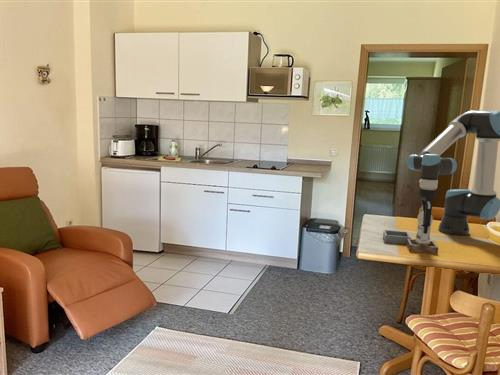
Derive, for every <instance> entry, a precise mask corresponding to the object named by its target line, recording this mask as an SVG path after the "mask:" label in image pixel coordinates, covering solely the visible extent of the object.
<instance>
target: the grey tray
mask: <svg viewBox="0 0 500 375" xmlns="http://www.w3.org/2000/svg"><path fill="white" fill-rule="evenodd" d="M382 237H383V242H384V243H387V244H389V243H391V244H401V245H406V242H407V239H412V237H411V235H410V234H409V232H408V231H400V230H390V229H389V230H388V229H383V234H382Z"/></svg>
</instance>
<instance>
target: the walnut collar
mask: <svg viewBox="0 0 500 375" xmlns="http://www.w3.org/2000/svg"><path fill="white" fill-rule="evenodd" d="M415 239H416V238H411V239H407V242H406V244H405V245H406V247H407V249H408V251H409V252H414V253H424V254H434V255H435V254H436V255H438V253H439V246H438V245H437V244H436V242H435V241H434V240H430V246H423V245H415Z"/></svg>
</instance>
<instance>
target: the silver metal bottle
mask: <svg viewBox="0 0 500 375" xmlns="http://www.w3.org/2000/svg"><path fill="white" fill-rule="evenodd" d="M420 209H422V211H421V212H420V211H419V213H418V215H417V231H416V236H415V238H414V239H415V245H423V246H430V241H431V227H432V224H433V219H434V215H433V214H432V213H431V222H430V226H429V231H428V240H421V234H422V226H421V225H423V216H424V211H423V205H422V208H421V207H420Z"/></svg>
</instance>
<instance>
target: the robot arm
mask: <svg viewBox="0 0 500 375" xmlns="http://www.w3.org/2000/svg"><path fill="white" fill-rule="evenodd" d="M468 134H469V135H470V134H474V135H475V139H476V140H477V141H478V144H477V146H478V147H477V157H476V166H475V167H476V168H475V169H476V170H475V179H474V188H473V189H472V190H471V189H466V188H465V189H463V188H462V189H459V188H458V189H457V188H456V189H454V188H453V189H448V190H447V191H446V193H445V199H444V200H445V201H444V207H443V208H444V209H443V215H442V219H441V221H440V223H439V225H438V231H439V232H442V233H445V234H448V235H449V234H450V235H456V236H465V235H466V236H467V235H469V234H470V227H469V221H468V217H473V218H477V219H481V220H488V221H489V220H492V219H494V218H496V216H497V215H498V214H499V212H500V198H499V197H497V192H496V191H495V190H494V188H495V187H494V186H495V178H496V169H497V168H496V166H497V160H498V159H497V158H498V149H499V148H498V147H499V142H500V110H476V109H475V110H474V109H473V110H469V111H465V112H463V113H461V114H460V115H457V116H456V117H455V118H453V120H451V121H450V122H448V124H447V127H446V128H445V129H444V130H443V131H442V132H441V133H440V134H438V136H437V137H435V139H433V140H432V141H431V142H430V143H429V144H428V145H427V146H426V147H424V148H423V149H422V150H421V151H420V152H418V154H410V155H409V156H408V157H407V160H406V165H407V168H408V169H410V170H412V171H416V172H417V171H418V172H420V178H419V180H418V183H419V188H418V197H420V198H421V199H420V211H419V213H420V212H421V211H422V209H421V208H422V205H423V211H424V216H423V225H421V226H422V234H421V240H428V231H429V226H430V222H431V214H432V209H433V202H432V199H436V198H437V192H438V190H437V189H438V186H439V185H438V184H439V175H446V176H448V175H451V174H453V173H455V172H456V170H457V168H458V164H457V162H456V160H455V159H454V158H452V157H441V155H442V154H443V153H444V152H445V151H446V150H447V149H449V148H450V146H452V145H453V144H454V143H455V142H456V141H457V140H458V139H460V138H464V136H466V135H468Z"/></svg>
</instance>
